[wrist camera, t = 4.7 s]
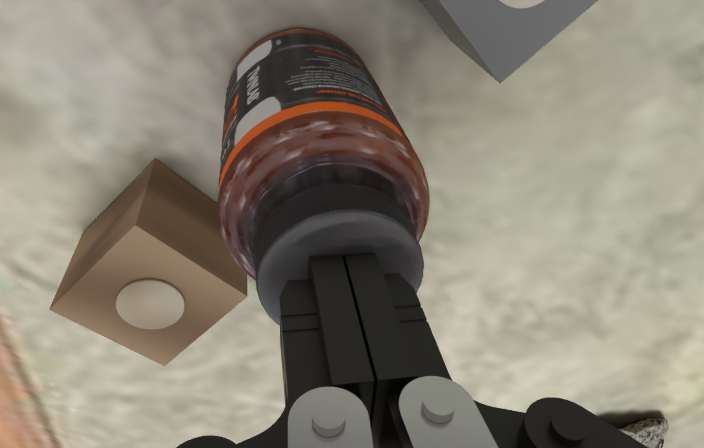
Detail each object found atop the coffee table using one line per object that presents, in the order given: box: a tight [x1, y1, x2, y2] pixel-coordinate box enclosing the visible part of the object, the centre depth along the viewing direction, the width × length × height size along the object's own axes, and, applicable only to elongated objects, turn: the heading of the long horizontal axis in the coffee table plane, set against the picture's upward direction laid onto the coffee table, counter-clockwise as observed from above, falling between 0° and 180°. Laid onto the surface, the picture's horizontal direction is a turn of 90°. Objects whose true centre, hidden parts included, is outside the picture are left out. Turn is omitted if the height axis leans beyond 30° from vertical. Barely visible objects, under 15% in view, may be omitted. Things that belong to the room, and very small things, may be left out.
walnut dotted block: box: [49, 158, 247, 366], centre depth 21 cm, size 5×5×5 cm
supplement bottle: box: [218, 29, 430, 325], centre depth 17 cm, size 6×6×11 cm
